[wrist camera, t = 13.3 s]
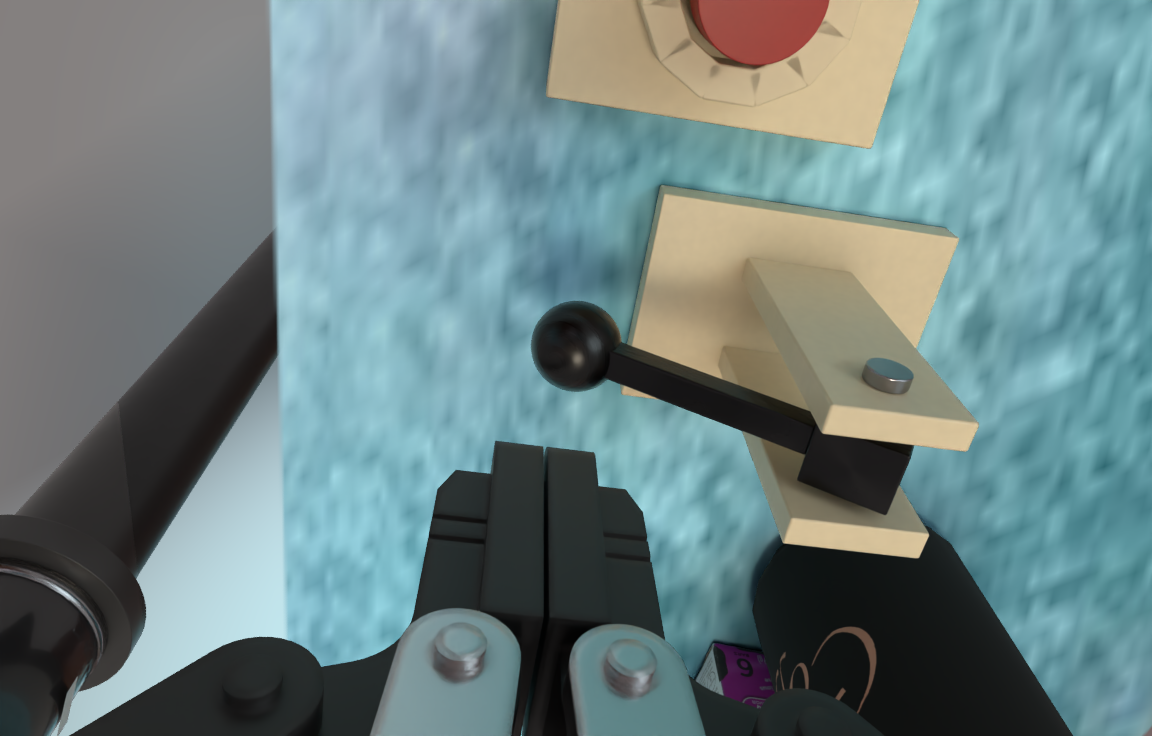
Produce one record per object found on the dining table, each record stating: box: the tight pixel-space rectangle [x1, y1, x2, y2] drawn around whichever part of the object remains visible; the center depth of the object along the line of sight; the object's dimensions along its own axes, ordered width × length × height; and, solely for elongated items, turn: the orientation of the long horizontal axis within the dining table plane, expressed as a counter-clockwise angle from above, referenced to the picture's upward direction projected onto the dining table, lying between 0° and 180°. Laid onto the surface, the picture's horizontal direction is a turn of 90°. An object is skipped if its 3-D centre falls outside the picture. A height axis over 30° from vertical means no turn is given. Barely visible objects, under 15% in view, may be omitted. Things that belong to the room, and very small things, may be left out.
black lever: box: [531, 301, 914, 515], centre depth 28 cm, size 13×3×3 cm, turn 82°
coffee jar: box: [753, 524, 1073, 736], centre depth 35 cm, size 11×11×18 cm
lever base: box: [620, 185, 979, 558], centre depth 30 cm, size 12×9×13 cm
